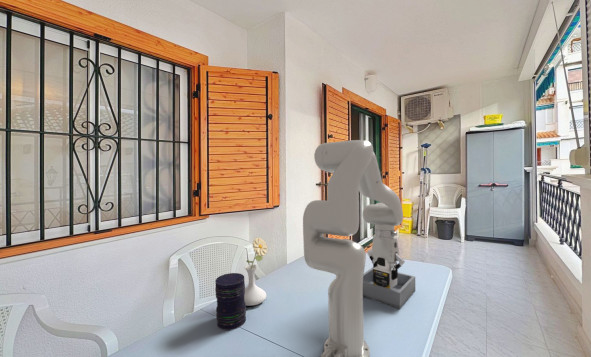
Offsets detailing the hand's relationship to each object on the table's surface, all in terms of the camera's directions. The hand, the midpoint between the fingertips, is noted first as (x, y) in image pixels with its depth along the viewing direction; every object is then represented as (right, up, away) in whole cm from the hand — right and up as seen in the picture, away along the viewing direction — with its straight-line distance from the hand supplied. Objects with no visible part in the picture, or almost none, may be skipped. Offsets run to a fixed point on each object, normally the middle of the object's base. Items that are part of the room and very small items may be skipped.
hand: (385, 275), depth 106 cm
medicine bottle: (0, -4, 0) cm, 4 cm away
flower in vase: (-53, -9, -3) cm, 54 cm away
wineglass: (-9, -6, +35) cm, 37 cm away
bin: (0, -7, 0) cm, 7 cm away
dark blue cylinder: (-59, -10, -17) cm, 62 cm away
